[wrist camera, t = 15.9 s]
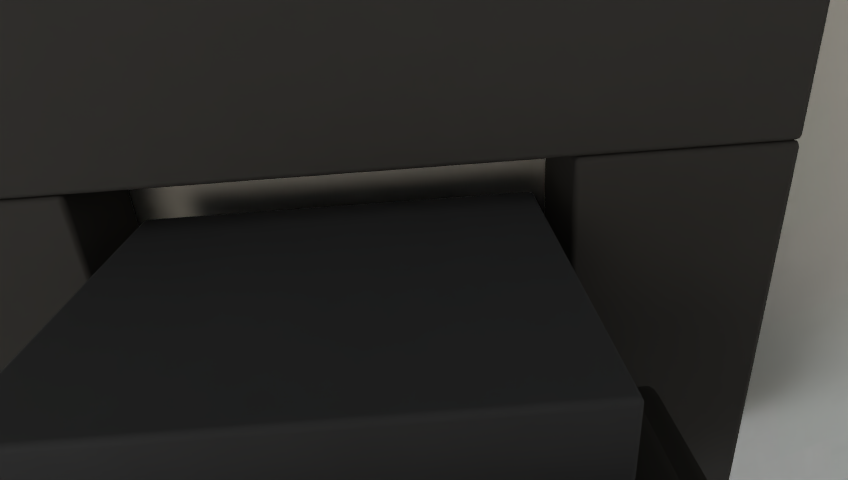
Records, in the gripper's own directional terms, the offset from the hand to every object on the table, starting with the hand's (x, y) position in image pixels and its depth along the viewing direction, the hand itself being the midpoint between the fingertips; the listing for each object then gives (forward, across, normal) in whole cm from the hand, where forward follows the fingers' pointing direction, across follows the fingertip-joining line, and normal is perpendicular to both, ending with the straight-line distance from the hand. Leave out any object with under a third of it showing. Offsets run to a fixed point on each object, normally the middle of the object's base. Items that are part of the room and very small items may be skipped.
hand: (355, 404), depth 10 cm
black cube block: (+1, 0, 0) cm, 1 cm away
